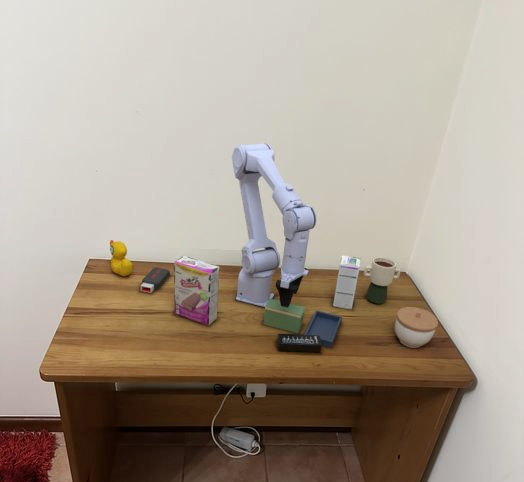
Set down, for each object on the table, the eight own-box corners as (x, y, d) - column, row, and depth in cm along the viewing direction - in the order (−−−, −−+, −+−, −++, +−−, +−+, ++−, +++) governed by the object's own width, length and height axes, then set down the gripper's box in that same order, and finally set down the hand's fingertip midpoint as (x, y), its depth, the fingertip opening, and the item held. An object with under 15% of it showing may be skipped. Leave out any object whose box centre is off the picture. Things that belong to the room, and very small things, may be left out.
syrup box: (351, 310, 144) (361, 266, 137) (331, 306, 145) (340, 262, 137) (352, 300, 149) (361, 257, 142) (333, 297, 150) (341, 254, 142)
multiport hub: (276, 340, 128) (277, 333, 126) (318, 342, 128) (319, 335, 127) (278, 350, 124) (279, 343, 123) (320, 352, 125) (322, 345, 123)
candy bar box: (173, 315, 134) (172, 261, 125) (183, 306, 138) (183, 254, 129) (208, 327, 130) (210, 273, 122) (218, 318, 134) (220, 265, 126)
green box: (263, 324, 134) (265, 305, 131) (268, 316, 138) (270, 298, 134) (298, 333, 131) (301, 315, 128) (302, 325, 135) (305, 307, 132)
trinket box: (424, 358, 127) (434, 328, 122) (385, 342, 131) (392, 313, 126) (435, 339, 135) (444, 310, 130) (397, 325, 139) (405, 297, 134)
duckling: (104, 267, 154) (102, 238, 148) (121, 263, 157) (118, 234, 151) (121, 282, 146) (118, 252, 141) (137, 278, 149) (135, 248, 144)
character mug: (390, 295, 154) (399, 258, 147) (395, 307, 148) (405, 269, 141) (356, 292, 153) (364, 255, 147) (359, 304, 147) (368, 266, 141)
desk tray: (303, 340, 129) (304, 334, 128) (315, 315, 140) (315, 310, 139) (331, 347, 127) (332, 342, 126) (341, 322, 138) (342, 316, 137)
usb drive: (170, 275, 152) (169, 268, 151) (154, 294, 142) (154, 286, 141) (154, 272, 153) (154, 265, 152) (137, 291, 143) (137, 282, 142)
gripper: (302, 268, 116) (296, 316, 123) (316, 245, 128) (309, 290, 135) (274, 262, 118) (269, 309, 125) (291, 240, 130) (285, 284, 137)
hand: (288, 299), depth 130 cm, fingers open, 7 cm apart
